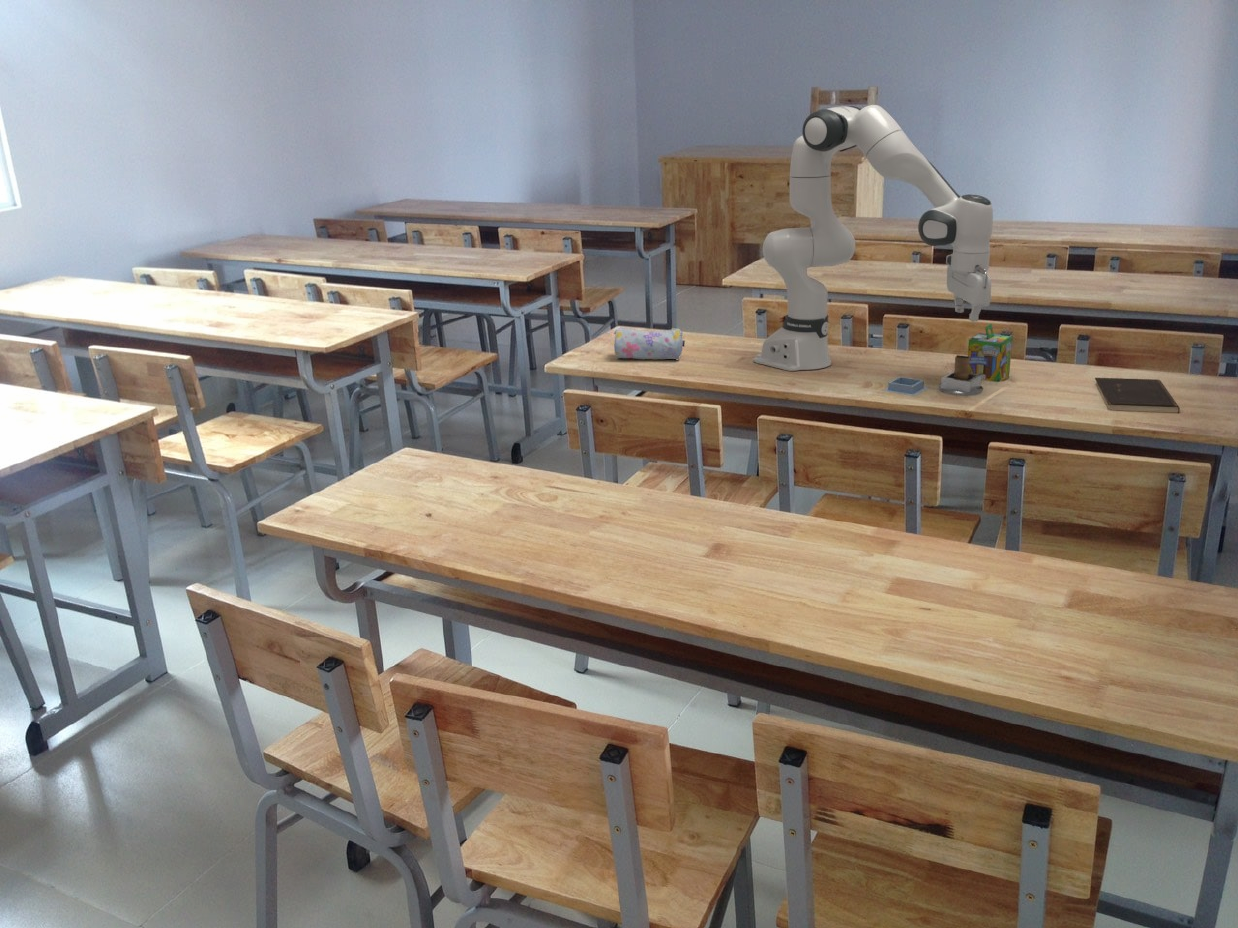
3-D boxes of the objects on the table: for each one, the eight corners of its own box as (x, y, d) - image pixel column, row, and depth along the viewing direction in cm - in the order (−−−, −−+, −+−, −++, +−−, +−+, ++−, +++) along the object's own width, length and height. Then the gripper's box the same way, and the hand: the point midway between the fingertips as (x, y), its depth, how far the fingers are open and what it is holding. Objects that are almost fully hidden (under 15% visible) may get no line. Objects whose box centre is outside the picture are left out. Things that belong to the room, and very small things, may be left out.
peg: (951, 388, 280) (953, 357, 278) (954, 384, 283) (957, 353, 280) (965, 390, 279) (968, 358, 276) (968, 386, 282) (971, 355, 279)
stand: (881, 394, 283) (882, 383, 282) (897, 385, 290) (897, 374, 289) (914, 399, 278) (914, 388, 277) (929, 390, 284) (929, 379, 283)
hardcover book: (1107, 412, 264) (1108, 403, 264) (1094, 385, 285) (1095, 377, 284) (1178, 415, 260) (1180, 406, 259) (1160, 388, 281) (1161, 379, 280)
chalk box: (998, 385, 286) (1003, 331, 281) (964, 380, 292) (969, 327, 286) (1010, 377, 293) (1015, 323, 288) (977, 372, 299) (981, 320, 293)
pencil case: (685, 355, 327) (684, 325, 324) (682, 363, 319) (681, 332, 316) (617, 355, 331) (615, 325, 327) (612, 362, 323) (611, 331, 319)
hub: (931, 394, 281) (932, 378, 279) (948, 384, 289) (950, 368, 287) (972, 401, 274) (974, 384, 273) (989, 391, 282) (990, 374, 281)
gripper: (1000, 269, 260) (995, 325, 265) (967, 254, 279) (963, 306, 284) (974, 271, 260) (969, 327, 265) (943, 255, 279) (939, 308, 284)
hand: (966, 316), depth 275 cm, fingers open, 8 cm apart
